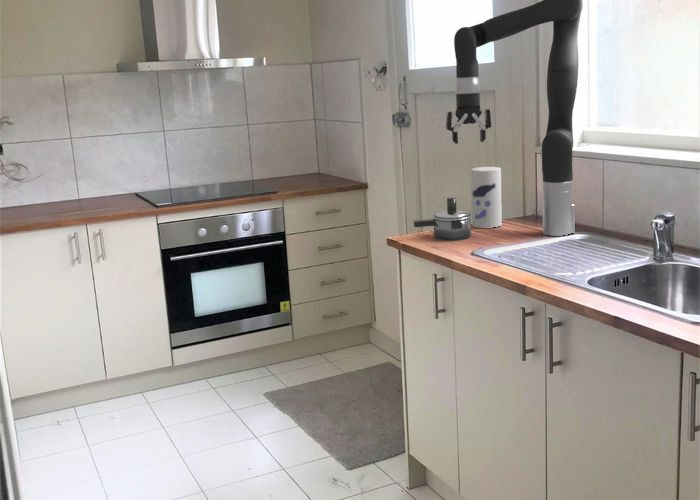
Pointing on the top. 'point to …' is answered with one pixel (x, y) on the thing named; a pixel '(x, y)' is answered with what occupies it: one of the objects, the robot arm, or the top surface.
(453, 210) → the lid
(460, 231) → the pot
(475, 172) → the container
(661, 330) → the top surface
